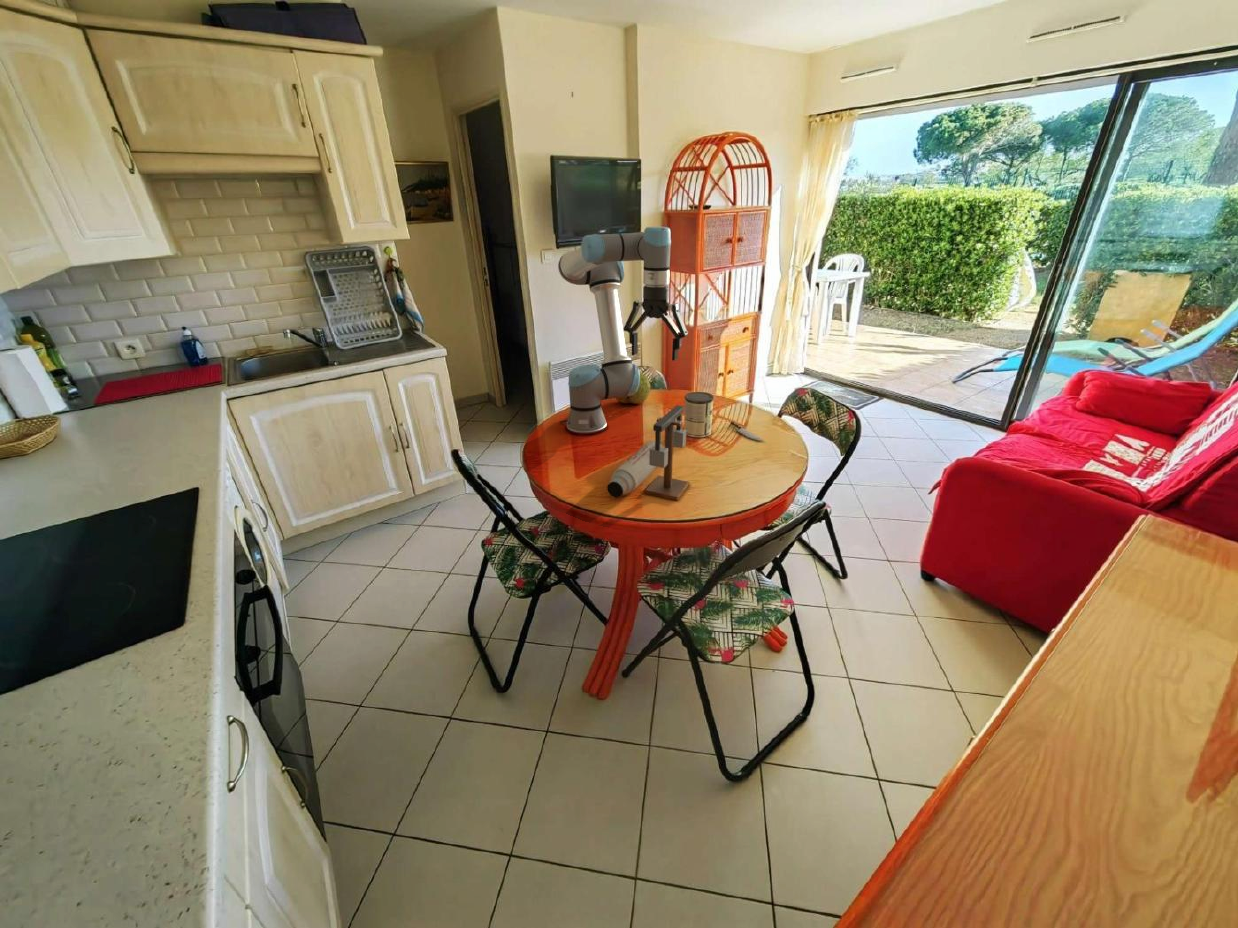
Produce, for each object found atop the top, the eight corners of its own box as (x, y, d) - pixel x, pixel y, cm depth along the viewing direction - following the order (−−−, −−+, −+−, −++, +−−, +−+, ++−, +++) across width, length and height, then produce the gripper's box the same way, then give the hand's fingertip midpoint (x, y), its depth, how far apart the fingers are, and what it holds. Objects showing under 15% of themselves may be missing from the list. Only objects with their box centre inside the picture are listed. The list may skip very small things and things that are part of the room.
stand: (645, 493, 149) (645, 423, 140) (658, 478, 157) (659, 412, 148) (677, 500, 145) (680, 429, 136) (689, 485, 153) (692, 417, 144)
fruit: (615, 410, 212) (605, 375, 211) (621, 411, 226) (611, 378, 225) (653, 398, 209) (642, 363, 208) (656, 399, 223) (646, 366, 223)
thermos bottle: (642, 439, 166) (600, 476, 144) (664, 441, 162) (625, 479, 140) (644, 462, 169) (603, 500, 147) (666, 464, 165) (628, 504, 143)
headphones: (649, 465, 140) (649, 424, 135) (671, 442, 154) (673, 404, 149) (664, 468, 138) (665, 427, 133) (685, 444, 152) (687, 406, 147)
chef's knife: (756, 443, 180) (763, 441, 181) (757, 441, 179) (764, 439, 180) (725, 425, 195) (732, 423, 196) (725, 422, 195) (732, 420, 196)
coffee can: (683, 426, 195) (684, 391, 189) (710, 427, 194) (712, 391, 188) (683, 437, 186) (685, 400, 179) (712, 438, 185) (714, 401, 178)
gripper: (612, 284, 151) (613, 355, 160) (692, 290, 141) (688, 364, 150) (623, 281, 157) (623, 349, 166) (701, 286, 146) (696, 358, 156)
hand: (654, 356), depth 158 cm, fingers open, 13 cm apart
